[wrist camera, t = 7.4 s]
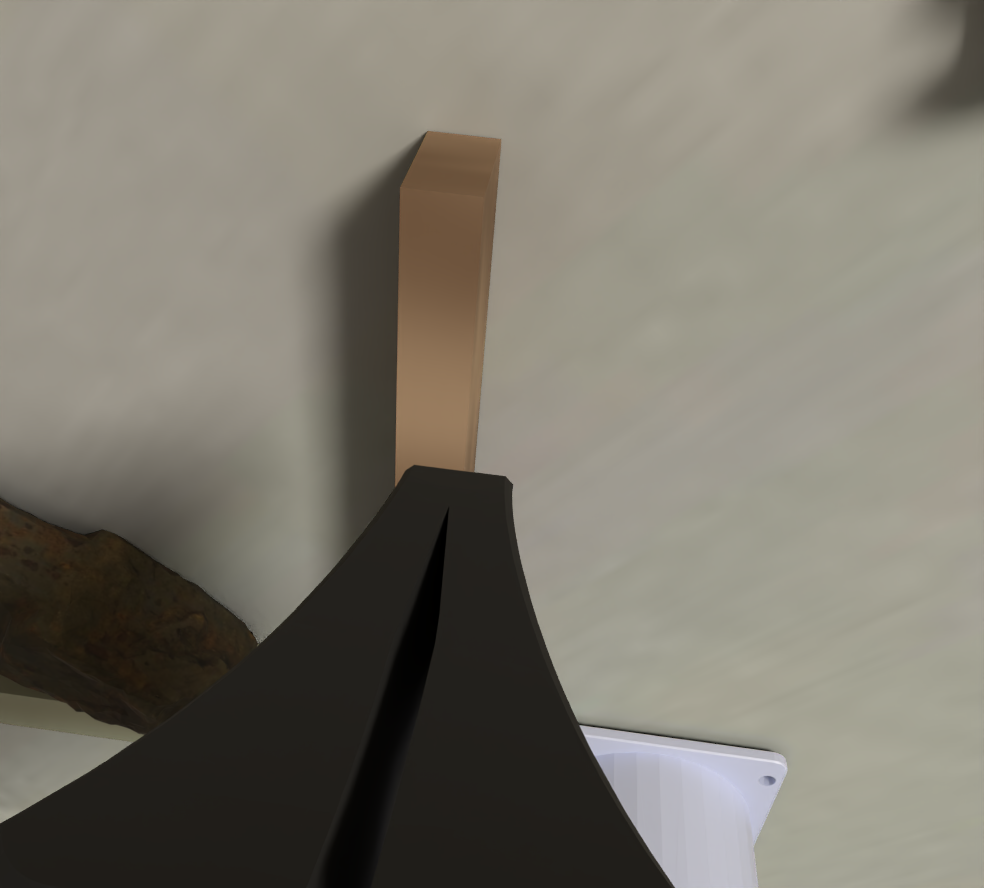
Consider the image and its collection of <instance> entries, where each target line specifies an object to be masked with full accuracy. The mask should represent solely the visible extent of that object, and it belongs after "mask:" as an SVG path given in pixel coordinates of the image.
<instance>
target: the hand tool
mask: <svg viewBox="0 0 984 888" xmlns="http://www.w3.org/2000/svg"><path fill="white" fill-rule="evenodd" d="M257 645H258V643H257V641H256V639H255V637H254V636H253V633H252V632H250V631H249V630H248V628H247V626H246V625H245V623H244V622H242V621H241V620H239V619H238V618H237V617H236V616H235V615H234V614H232V613H231V612H230V611H229V610H227V609H226V608H225V607H224V606H222V605H221V604H220V603H218V602H217V601H215V600H214V599H212V598H211V597H210V596H209V595H208V594H207V593H206V592H205V591H203V590H202V589H201V588H200V587H199V586H198V585H196V584H194V583H192V582H189V581H187V580H185V579H183V578H182V577H181V576H180V575H178V574H177V573H175V572H173V571H172V570H170V569H168V568H166V567H165V566H163V565H161V564H160V563H158V562H156V561H155V560H153V559H152V558H151V557H149V556H148V555H146V554H145V553H144V552H142V551H141V550H139V549H138V548H136V547H134V546H133V545H132V544H130V543H129V542H127V541H126V540H124V539H123V538H121V537H119V536H118V535H116V534H114V533H111V532H108V531H105V530H100V531H97V532H94V533H91V534H87V535H82V534H77V533H74V532H72V531H69V530H66V529H63V528H60V527H57V526H54V525H51V524H48V523H46V522H44V521H42V520H40V519H38V518H37V517H35V516H33V515H31V514H29V513H27V512H24V511H22V510H20V509H17V508H15V507H14V506H12V505H10V504H9V503H7V502H5V501H4V500H2V499H1V498H0V675H2V676H4V677H6V678H8V679H10V680H12V681H14V682H16V683H18V684H19V685H21V686H23V687H26V688H29V689H32V690H35V691H39V692H42V693H45V694H48V695H49V696H51V697H53V698H54V699H56V700H58V701H60V702H64V703H66V704H68V705H69V706H70V707H71V708H73V709H74V710H75V711H76V712H85V713H87V714H88V715H89V716H91V717H92V718H93V719H95V720H98V721H101V722H104V723H107V724H110V725H118V726H122V727H125V728H128V729H131V730H133V731H134V732H136V733H138V734H143V735H145V734H147V733H148V732H149V731H151V730H152V729H154V728H155V727H157V726H158V725H160V724H161V723H163V722H164V721H165V720H167V719H168V718H170V717H171V716H173V715H174V714H175V713H177V712H178V711H179V710H181V709H182V708H183V707H185V706H186V705H187V704H189V703H190V702H191V701H192V700H194V699H195V698H196V697H198V696H199V695H200V694H201V693H203V692H204V691H205V690H206V689H208V688H209V687H210V686H211V685H212V684H214V683H215V682H216V681H217V680H219V679H220V678H221V677H222V676H223V675H225V674H226V673H227V672H228V671H230V670H231V669H232V668H233V667H234V666H236V665H237V664H238V663H239V662H240V661H241V660H243V659H244V658H245V657H246V656H247V655H248V654H249V653H250V652H251V651H253V650H254V649H255V648H256V647H257Z"/></svg>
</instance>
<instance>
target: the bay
mask: <svg viewBox="0 0 984 888" xmlns="http://www.w3.org/2000/svg"><path fill="white" fill-rule="evenodd" d="M500 150H501V139H494V138H485V137H476V136H467V135H458V134H450V133H441V132H432V131H427V133H426V135H425V137H424V140H423V142H422V144H421V146H420V148H419V150H418V152H417V154H416V156H415V158H414V160H413V162H412V164H411V166H410V168H409V170H408V172H407V174H406V176H405V178H404V180H403V182H402V184H401V187H400V220H399V279H398V339H397V399H396V458H395V487H396V485H397V484H398V482H399V481H400V479H401V477H402V475H403V474H404V472H405V470H407V469H408V468H410V467H411V466H413V465H420V466H428V467H436V468H444V469H452V470H459V471H467V472H474V468H475V455H476V443H477V431H478V419H479V407H480V394H481V382H482V370H483V358H484V345H485V333H486V321H487V309H488V297H489V284H490V272H491V260H492V248H493V235H494V223H495V211H496V199H497V187H498V174H499V162H500ZM258 645H259V644H258ZM258 645H257V646H258ZM0 723H3V724H10V725H17V726H24V727H31V728H38V729H45V730H52V731H59V732H67V733H74V734H81V735H88V736H95V737H102V738H109V739H116V740H123V741H130V742H135V741H136V740H138V739H139V738H141V737H142V736H144V735H143V734H138V733H136V732H134V731H133V730H131V729H128V728H125V727H122V726H118V725H110V724H107V723H104V722H101V721H98V720H95V719H93V718H92V717H91V716H89V715H88V714H87V713H85V712H76V711H75V710H74V709H73V708H71V707H70V706H69V705H68V704H66V703H64V702H60V701H58V700H56V699H54V698H53V697H51V696H49V695H48V694H45V693H42V692H39V691H35V690H32V689H29V688H26V687H23V686H21V685H19V684H18V683H16V682H14V681H12V680H10V679H8V678H6V677H4V676H2V675H0Z"/></svg>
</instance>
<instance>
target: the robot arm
mask: <svg viewBox="0 0 984 888" xmlns="http://www.w3.org/2000/svg"><path fill="white" fill-rule="evenodd" d="M512 489H513V484H512V483H511V482H510V481H509V480H508V478H507V477H506V476H499V475H491V474H483V473H475V472H467V471H459V470H452V469H444V468H436V467H428V466H420V465H413V466H411V467H410V468H408V469H407V470H405V472H404V474H403V475H402V477H401V479H400V481H399V482H398V484H397V485H396V487H395V489H394V490H393V492H392V493H391V495H390V496H389V498H388V499H387V501H386V502H385V503H384V505H383V506H382V508H381V509H380V511H379V512H378V513H377V515H376V516H375V517H374V519H373V520H372V521H371V523H370V524H369V525H368V527H367V528H366V529H365V531H364V532H363V533H362V534H361V536H360V537H359V538H358V539H357V540H356V542H355V543H354V544H353V545H352V547H351V548H350V549H349V550H348V551H347V553H346V554H345V555H344V556H343V558H342V559H341V560H340V561H339V562H338V564H337V565H336V566H335V567H334V568H333V570H332V571H331V572H330V573H329V574H328V575H327V576H326V577H325V578H324V579H323V581H322V582H321V583H320V584H319V585H318V586H317V587H316V588H315V589H314V590H313V591H312V592H311V593H310V594H309V596H308V597H307V598H306V599H305V600H304V601H303V602H302V603H301V604H300V605H299V606H298V607H297V608H296V610H295V611H294V612H293V613H292V614H291V615H290V616H289V617H288V618H287V619H286V620H285V621H284V622H283V623H281V624H280V625H279V626H278V627H277V628H276V629H275V630H274V631H273V632H272V633H271V634H270V635H269V636H268V637H267V638H266V639H265V640H264V641H263V642H261V643H260V644H259V645H258V646H257V647H256V648H255V649H254V650H253V651H251V652H250V653H249V654H248V655H247V656H246V657H245V658H244V659H243V660H241V661H240V662H239V663H238V664H237V665H236V666H234V667H233V668H232V669H231V670H230V671H228V672H227V673H226V674H225V675H223V676H222V677H221V678H220V679H219V680H217V681H216V682H215V683H214V684H212V685H211V686H210V687H209V688H208V689H206V690H205V691H204V692H203V693H201V694H200V695H199V696H198V697H196V698H195V699H194V700H192V701H191V702H190V703H189V704H187V705H186V706H185V707H183V708H182V709H181V710H179V711H178V712H177V713H175V714H174V715H173V716H171V717H170V718H168V719H167V720H165V721H164V722H163V723H161V724H160V725H158V726H157V727H155V728H154V729H152V730H151V731H149V732H148V733H147V734H145V735H144V736H142V737H141V738H139V739H138V740H136V741H135V742H133V743H132V744H131V745H129V746H128V747H126V748H125V749H123V750H122V751H120V752H119V753H117V754H116V755H115V756H113V757H112V758H110V759H109V760H107V761H106V762H104V763H102V764H101V765H99V766H98V767H96V768H95V769H93V770H91V771H90V772H88V773H87V774H85V775H83V776H81V777H80V778H78V779H76V780H75V781H73V782H71V783H69V784H68V785H66V786H64V787H63V788H61V789H59V790H58V791H56V792H54V793H52V794H51V795H49V796H47V797H46V798H44V799H42V800H40V801H39V802H37V803H35V804H34V805H32V806H30V807H29V808H27V809H25V810H23V811H22V812H20V813H18V814H16V815H15V816H13V817H11V818H9V819H7V820H6V821H4V822H2V823H0V888H759V887H758V879H757V871H756V862H755V854H754V844H755V842H756V840H757V838H758V836H759V833H760V831H761V829H762V827H763V824H764V822H765V820H766V818H767V816H768V813H769V811H770V809H771V807H772V805H773V802H774V800H775V798H776V796H777V793H778V791H779V789H780V787H781V785H782V782H783V780H784V778H785V776H786V774H787V763H786V759H785V758H784V756H782V755H781V754H779V753H776V752H771V751H763V750H756V749H749V748H742V747H734V746H727V745H720V744H713V743H705V742H698V741H691V740H684V739H676V738H669V737H662V736H655V735H647V734H640V733H633V732H626V731H618V730H611V729H604V728H597V727H589V726H582V725H579V724H578V722H577V720H576V717H575V715H574V713H573V711H572V709H571V707H570V704H569V702H568V700H567V697H566V695H565V693H564V691H563V688H562V686H561V684H560V681H559V679H558V676H557V674H556V671H555V669H554V666H553V664H552V661H551V658H550V656H549V653H548V651H547V648H546V645H545V642H544V639H543V636H542V633H541V630H540V627H539V625H538V622H537V618H536V615H535V612H534V609H533V605H532V602H531V599H530V595H529V591H528V587H527V583H526V580H525V576H524V572H523V568H522V564H521V560H520V555H519V551H518V545H517V539H516V534H515V527H514V519H513V509H512Z"/></svg>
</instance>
